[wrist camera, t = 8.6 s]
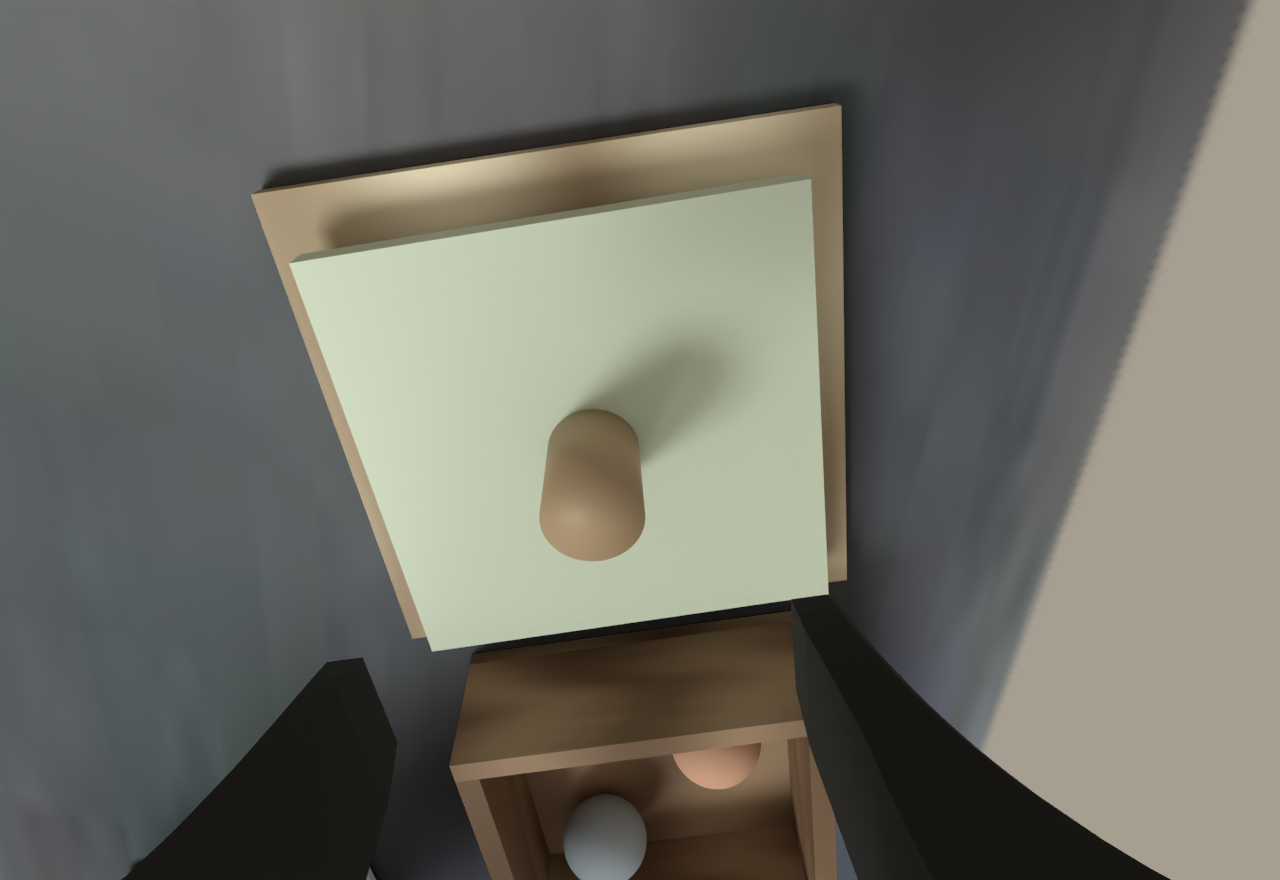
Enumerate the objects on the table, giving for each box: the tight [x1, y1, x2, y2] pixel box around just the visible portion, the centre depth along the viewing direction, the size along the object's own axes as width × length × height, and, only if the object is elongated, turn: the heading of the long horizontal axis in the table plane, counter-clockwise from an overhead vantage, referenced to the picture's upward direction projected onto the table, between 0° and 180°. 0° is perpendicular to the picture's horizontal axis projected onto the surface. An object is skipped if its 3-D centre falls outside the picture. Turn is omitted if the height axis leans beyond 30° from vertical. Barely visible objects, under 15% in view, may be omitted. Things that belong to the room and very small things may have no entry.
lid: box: [289, 173, 829, 652], centre depth 20 cm, size 12×12×5 cm
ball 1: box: [563, 794, 647, 880], centre depth 28 cm, size 3×3×3 cm
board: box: [251, 103, 847, 639], centre depth 22 cm, size 14×14×1 cm
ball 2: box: [673, 743, 761, 789], centre depth 26 cm, size 3×3×3 cm
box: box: [449, 611, 837, 880], centre depth 27 cm, size 11×11×4 cm
